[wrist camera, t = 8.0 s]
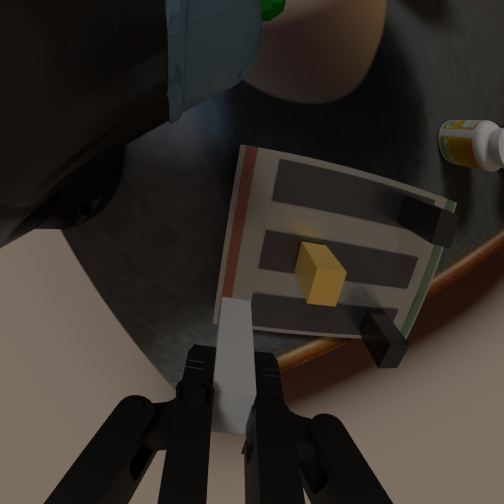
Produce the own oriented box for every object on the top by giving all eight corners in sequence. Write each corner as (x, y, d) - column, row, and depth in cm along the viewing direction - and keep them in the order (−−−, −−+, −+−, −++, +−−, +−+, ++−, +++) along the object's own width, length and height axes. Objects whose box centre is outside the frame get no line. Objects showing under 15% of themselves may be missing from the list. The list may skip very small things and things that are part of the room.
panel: (214, 308, 33) (207, 365, 24) (240, 144, 26) (240, 143, 18) (396, 327, 35) (428, 372, 26) (441, 197, 29) (495, 218, 20)
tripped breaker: (294, 271, 27) (306, 303, 22) (301, 241, 26) (317, 267, 21) (318, 274, 28) (335, 306, 22) (326, 245, 27) (346, 272, 21)
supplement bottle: (461, 171, 28) (516, 186, 19) (432, 152, 27) (489, 161, 18) (470, 133, 26) (526, 139, 17) (442, 112, 25) (500, 110, 16)
